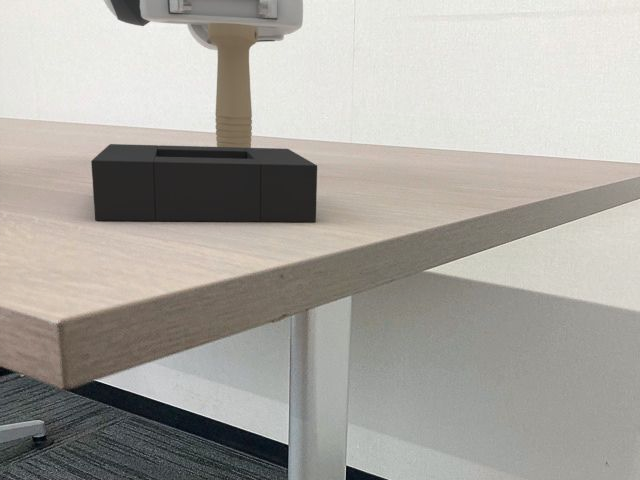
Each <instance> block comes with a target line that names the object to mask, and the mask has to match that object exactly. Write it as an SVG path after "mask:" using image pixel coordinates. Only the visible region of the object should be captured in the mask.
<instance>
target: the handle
mask: <svg viewBox="0 0 640 480" xmlns="http://www.w3.org/2000/svg"><path fill="white" fill-rule="evenodd" d="M208 36H209V39H210V41H211V42H213V43H214V44H215V45H216V46H217V49H218V50H217V66H216V67H217V68H216V70H217V71H216V94H215V135H216V137H215V139H216V147H241V148H252V134H253V132H252V130H253V125H252V124H253V120H252V117H253V112H252V110H253V109H252V93H251V74H250V73H251V72H250V49H251V47H252V46H254V45H256V44H257V43H258V42H257V40H258V27H255V26H251V25H244V24H233V23H209V24H208Z"/></svg>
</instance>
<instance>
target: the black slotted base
mask: <svg viewBox="0 0 640 480" xmlns="http://www.w3.org/2000/svg"><path fill="white" fill-rule="evenodd" d="M90 163H91V175H92V176H91V177H92V178H91V179H92V189H93V190H92V192H93V193H92V195H93V207H94V208H93V210H94V211H93V212H94V220H95V221H96V222H99V221H100V222H101V221H104V222H108V221H109V222H127V221H128V222H238V221H255V222H256V221H257V222H256V223H258V222H259V223H260V222H261V223H263V222H265V223H316V222H317V193H318V192H317V190H318V165H317V164H316V163H314V162H312V161H310V160H309V159H306V158H305V157H303V156H301V155H300V154H298V153H296V152H294V151H293V150H291V149H289V148H279V147H278V148H277V147H275V148H274V147H273V148H272V147H251V148H241V147H217V146H198V145H197V146H196V145H163V144H162V145H161V144H159V145H158V144H127V143H125V144H121V143H110V144H108V145H107V146H105V148H104V149H103V150H102V151H100V152H99V153H98V154H97V155H96V156H95V157H93V159H92V160H91V162H90Z"/></svg>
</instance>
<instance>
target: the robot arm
mask: <svg viewBox="0 0 640 480" xmlns="http://www.w3.org/2000/svg"><path fill="white" fill-rule="evenodd" d="M103 2H104V4H105V5H106V7H107V8H108V10H109V12H111V13H112V15H114V17H115V18H116V19H117V20H118V21H120V22H122V23H125V24H129V25H134V26H138V27H139V26H140V27H145V26H147V25H148V24H150V23H151V22H153V23H159V24H174V25H186V26H187V29H188V31H189V33H190V34H191V36H192V38H193V39H194V40H195V41H196V42H197V44H199V45H201V46H202V47H204V48H206V49H208V50H212V51H218V49H217V46H216V45H215V44H214V43H213V42H211V41H210V39H209V36H208V24H209V23H233V24H244V25H251V26H255V27H258V40H257V42H256V43H263V42H264V43H265V42H281V41H283V40H284V39H285V35H290V34H293V33H295V32H296V31H298V30H300V29H301V28H302V26H303V22H304V0H103Z"/></svg>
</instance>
